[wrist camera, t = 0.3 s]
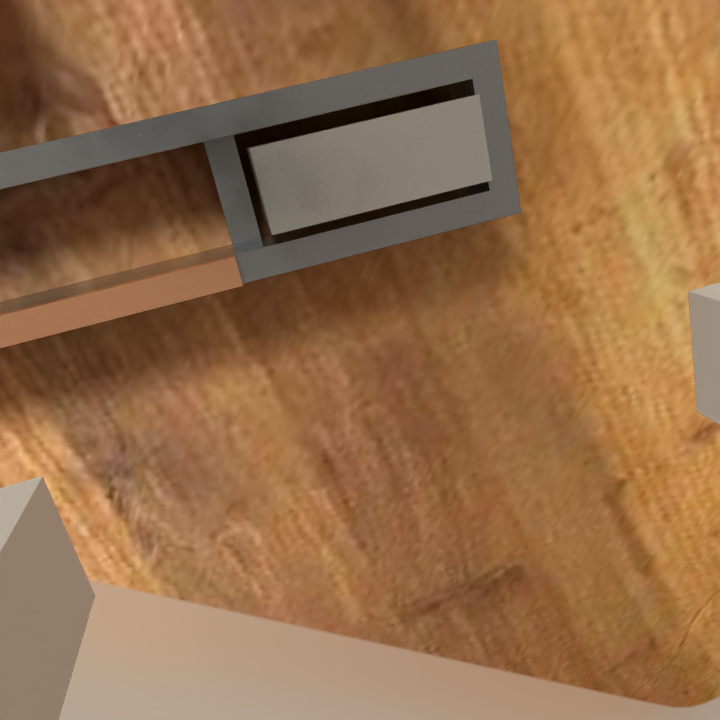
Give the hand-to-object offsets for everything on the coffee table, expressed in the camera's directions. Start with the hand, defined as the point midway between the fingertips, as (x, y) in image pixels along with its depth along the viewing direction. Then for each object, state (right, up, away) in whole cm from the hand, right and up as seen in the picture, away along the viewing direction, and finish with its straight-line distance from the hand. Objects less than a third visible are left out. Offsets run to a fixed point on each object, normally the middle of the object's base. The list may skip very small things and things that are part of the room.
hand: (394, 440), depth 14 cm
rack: (-11, +10, +23) cm, 27 cm away
